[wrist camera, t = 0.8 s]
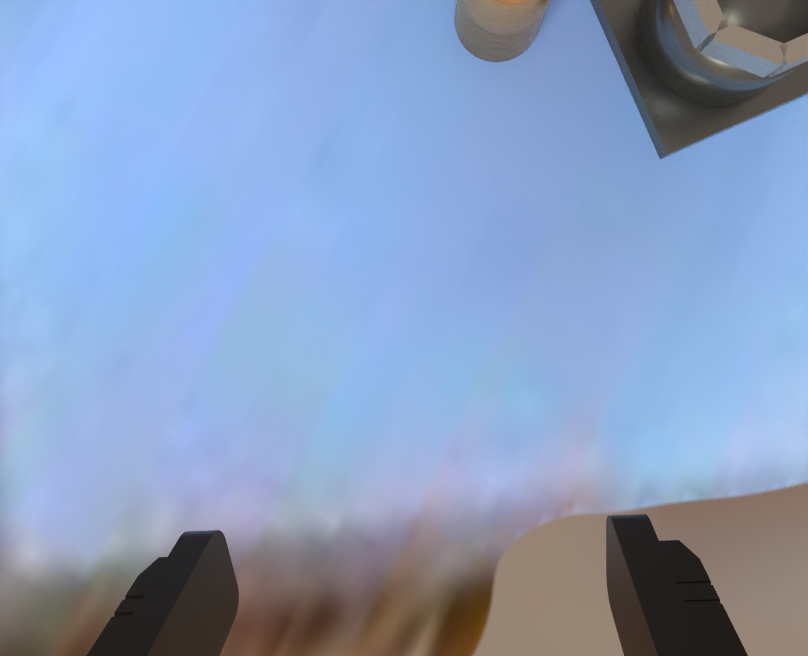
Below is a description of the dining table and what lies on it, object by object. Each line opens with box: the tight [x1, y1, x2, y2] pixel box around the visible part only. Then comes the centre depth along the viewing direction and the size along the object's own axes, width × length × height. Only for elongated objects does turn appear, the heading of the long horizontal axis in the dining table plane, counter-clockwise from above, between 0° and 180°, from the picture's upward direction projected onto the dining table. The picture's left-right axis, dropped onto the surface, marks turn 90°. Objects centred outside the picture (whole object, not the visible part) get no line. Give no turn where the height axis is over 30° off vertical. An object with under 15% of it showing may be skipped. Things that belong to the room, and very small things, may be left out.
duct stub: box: [590, 0, 808, 159], centre depth 34 cm, size 11×11×8 cm
